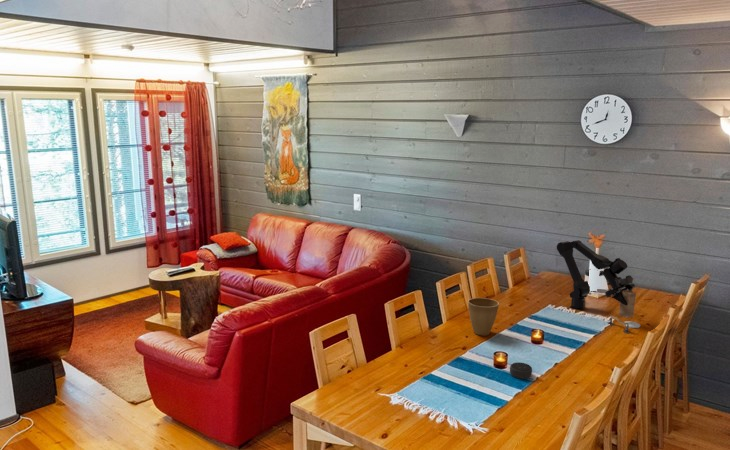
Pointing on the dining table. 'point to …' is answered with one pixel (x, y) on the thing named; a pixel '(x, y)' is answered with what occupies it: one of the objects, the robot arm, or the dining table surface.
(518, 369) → the smart speaker
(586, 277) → the jar
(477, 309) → the plant pot
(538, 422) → the dining table surface
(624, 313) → the taupe upright block
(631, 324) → the pad
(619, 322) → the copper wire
